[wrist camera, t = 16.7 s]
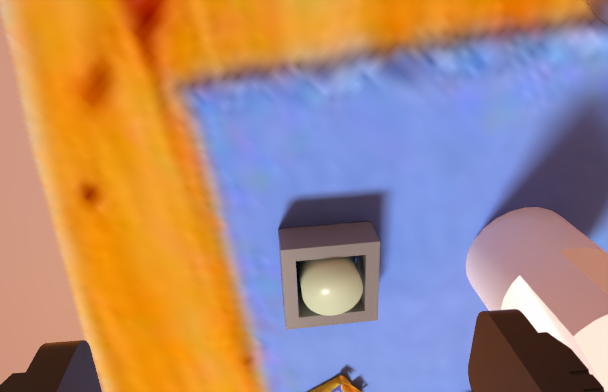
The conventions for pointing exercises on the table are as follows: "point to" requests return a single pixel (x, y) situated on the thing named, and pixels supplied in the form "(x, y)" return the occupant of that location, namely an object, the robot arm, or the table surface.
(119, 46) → the table surface
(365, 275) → the button housing
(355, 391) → the candy bar
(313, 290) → the button
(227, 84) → the table surface
